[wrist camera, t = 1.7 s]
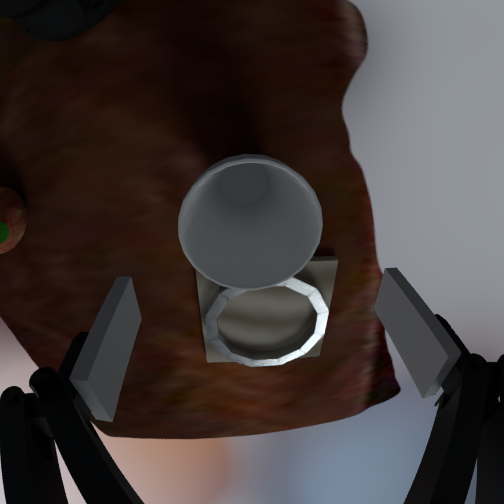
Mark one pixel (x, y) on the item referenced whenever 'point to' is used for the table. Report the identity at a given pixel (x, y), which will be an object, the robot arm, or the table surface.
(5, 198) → the fruit
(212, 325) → the ring collar
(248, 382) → the table surface
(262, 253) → the cup
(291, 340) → the board
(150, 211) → the table surface
